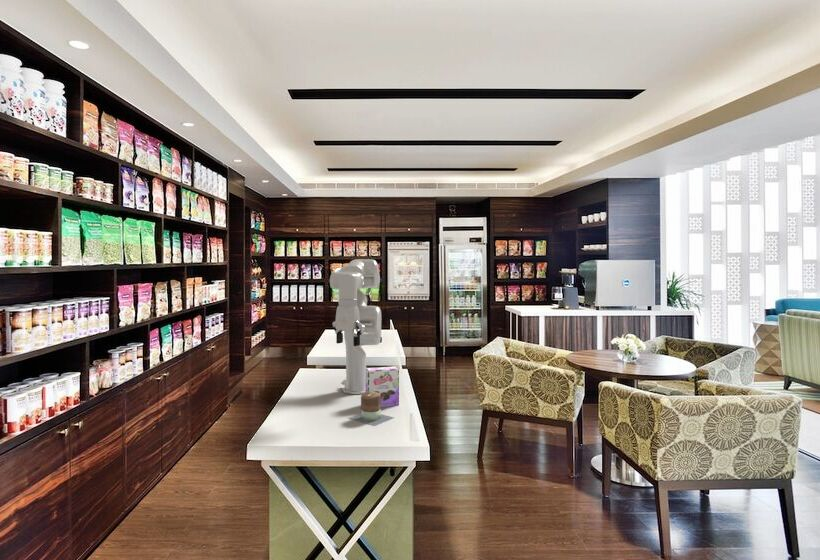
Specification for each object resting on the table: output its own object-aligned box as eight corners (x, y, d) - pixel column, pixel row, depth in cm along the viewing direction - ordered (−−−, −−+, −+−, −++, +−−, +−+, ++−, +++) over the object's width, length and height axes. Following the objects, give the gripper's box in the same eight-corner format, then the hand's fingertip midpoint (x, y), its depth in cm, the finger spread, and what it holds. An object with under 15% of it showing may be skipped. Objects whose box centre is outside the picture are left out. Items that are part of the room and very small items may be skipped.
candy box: (367, 409, 196) (367, 370, 195) (365, 405, 202) (365, 367, 201) (399, 406, 200) (399, 368, 199) (396, 402, 205) (396, 365, 205)
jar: (357, 418, 182) (357, 400, 182) (370, 413, 188) (370, 396, 188) (371, 422, 178) (371, 404, 177) (384, 417, 184) (384, 399, 183)
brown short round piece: (376, 412, 178) (376, 397, 178) (358, 411, 181) (358, 395, 180) (383, 407, 185) (383, 392, 185) (366, 405, 188) (366, 390, 187)
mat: (347, 419, 182) (347, 418, 182) (368, 412, 192) (368, 410, 192) (374, 427, 174) (374, 426, 174) (394, 419, 184) (394, 417, 184)
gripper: (326, 302, 194) (326, 343, 195) (357, 305, 183) (357, 348, 184) (339, 301, 200) (339, 340, 201) (369, 303, 190) (369, 345, 190)
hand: (348, 344), depth 193 cm, fingers open, 9 cm apart
